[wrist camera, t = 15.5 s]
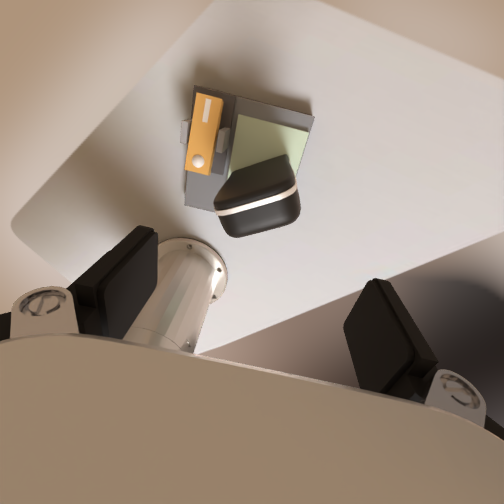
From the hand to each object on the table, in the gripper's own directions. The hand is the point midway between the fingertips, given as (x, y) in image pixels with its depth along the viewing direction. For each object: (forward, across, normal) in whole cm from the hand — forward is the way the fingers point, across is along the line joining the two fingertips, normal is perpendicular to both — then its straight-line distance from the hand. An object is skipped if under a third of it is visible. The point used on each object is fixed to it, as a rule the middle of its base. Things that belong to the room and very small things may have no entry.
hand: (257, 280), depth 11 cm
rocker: (+18, +7, -2) cm, 19 cm away
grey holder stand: (+23, +3, 0) cm, 23 cm away
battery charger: (+20, 0, +1) cm, 20 cm away
